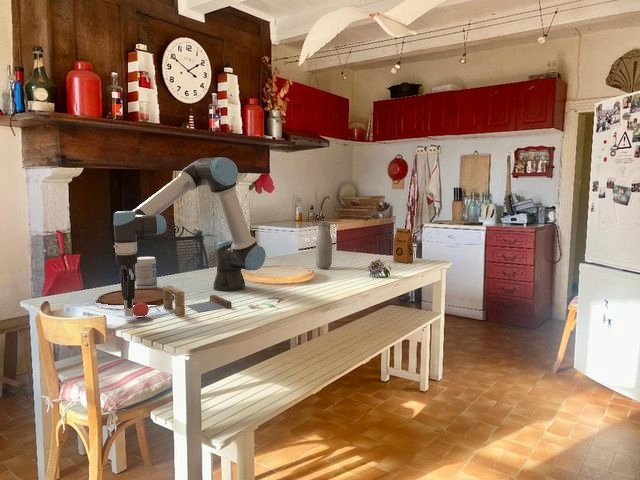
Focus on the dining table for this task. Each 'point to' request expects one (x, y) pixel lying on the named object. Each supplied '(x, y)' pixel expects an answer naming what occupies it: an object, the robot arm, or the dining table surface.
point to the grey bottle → (324, 246)
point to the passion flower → (378, 268)
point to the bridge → (178, 299)
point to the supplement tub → (146, 272)
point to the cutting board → (141, 296)
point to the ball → (140, 309)
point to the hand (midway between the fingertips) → (129, 316)
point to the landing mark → (205, 306)
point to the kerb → (220, 301)
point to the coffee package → (403, 246)
